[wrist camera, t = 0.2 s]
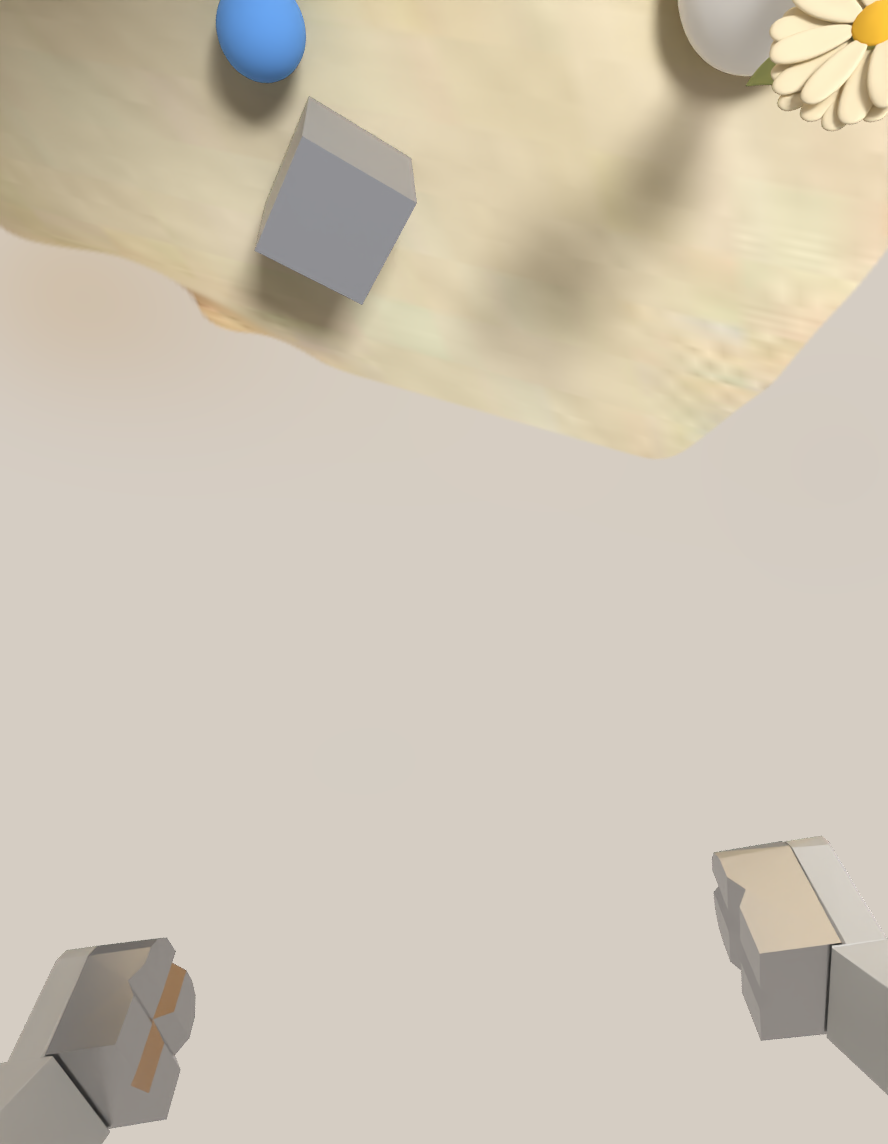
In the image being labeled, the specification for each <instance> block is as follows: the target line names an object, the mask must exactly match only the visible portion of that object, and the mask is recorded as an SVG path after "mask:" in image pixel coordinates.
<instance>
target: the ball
mask: <svg viewBox="0 0 888 1144" xmlns="http://www.w3.org/2000/svg"><path fill="white" fill-rule="evenodd" d="M216 30H217V36H218V40H219V43H220V46H221V48H222V51H223V53H224V55H225V56H226V58H227V60H228V61H229V62H230V64H231V65H232V66H233V67H234V68H235V69H236V70H237V71H238V72H239V73H240V74H242V75H243V76H245V77H247V78H249V79H251V80H253V81H256V82H261V83H273V82H277V81H280V80H282V79H284V78H286V77H288V76H289V75H290V74H291V73H292V72H293V71H294V70H295V69H296V67H297V66H298V64H299V63H300V61H301V58H302V56H303V53H304V49H305V42H306V32H305V24H304V20H303V16H302V13H301V11H300V9H299V7H298V5H297V3H296V1H295V0H220V2H219V5H218V9H217V14H216Z"/></svg>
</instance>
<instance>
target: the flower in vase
mask: <svg viewBox="0 0 888 1144" xmlns="http://www.w3.org/2000/svg"><path fill="white" fill-rule="evenodd" d="M678 8H679V14H680V19H681V22H682V25H683V28H684V32H685V34H686V36H687V38H688V40H689V42H690V44H691V45H692V47H693V48H694V50H695V51H696V52H697V54H698V55H699V56H700V57H701V58H702V59H703V60H704V61H705V62H707V63H708V64H710V65H711V66H712V67H714V68H716V69H718V70H720V71H722V72H725V73H728V74H732V75H738V76H752V77H751V78H750V80H749V81H748V83H747V84H746V86H755V85H772V89H773V91H774V92H775V93H777V94H779V95H781V96H780V97H779V99H778V102H777V104H778V107H779V108H780V109H781V110H784V111H792V110H796V109H798V108H800V107H802V108H801V110H800V117H801V118H802V119H803V120H805V121H808V122H813V121H817V120H819V119H821V118H822V120H821V125H822V127H823V129H825V130H827V131H837V130H839V129H841V128H843V127H844V126H845V125H846V124H848V125H850V124H856V123H858V122H860V121H861V120H864V121H866V122H875V121H879V120H881V119H883V118H884V117H885V116H886V115H887V113H888V0H678Z"/></svg>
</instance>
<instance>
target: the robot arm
mask: <svg viewBox="0 0 888 1144" xmlns="http://www.w3.org/2000/svg"><path fill="white" fill-rule="evenodd" d="M712 869H713V873H714V875H715V878H716V880H717V883H718V888H717V889H716V890H715V891H714V900H715V910H716V915H717V920H718V925H719V929H720V933H721V936H722V939H723V942H724V945H725V948H726V951H727V953H728V956H729V959H730V961H731V962H732V963H733V964H734V965H735V966H737V967H738V968H739V969H740V970H741V974H742V993H743V996H744V998H745V1001H746V1003H747V1006H748V1009H749V1011H750V1014H751V1016H752V1019H753V1022H754V1024H755V1026H756V1029H757V1032H758V1034H759V1037H760V1039H761V1040H771V1039H782V1038H791V1037H801V1036H810V1035H820V1034H827V1038H828V1039H829V1040H830V1041H831V1042H832V1043H833V1044H834V1045H835V1046H836V1047H837V1048H838V1049H839V1050H840V1051H842V1052H843V1053H844V1054H845V1055H846V1056H847V1057H848V1058H849V1059H850V1060H851V1061H852V1062H853V1063H854V1064H855V1065H857V1066H858V1067H859V1068H860V1069H861V1070H862V1071H863V1072H864V1073H865V1074H866V1075H867V1076H868V1077H870V1079H871V1080H873V1081H874V1082H875V1083H876V1084H877V1085H878V1086H879V1087H880V1088H881V1089H882V1090H883V1091H884V1092H886V1093H887V1095H888V938H886V936H885V935H884V933H883V931H882V929H881V928H880V926H879V924H878V923H877V921H876V919H875V918H874V916H873V914H872V913H871V911H870V910H869V908H868V907H867V904H866V903H865V901H864V900H863V898H862V896H861V895H860V893H859V891H858V890H857V888H856V886H855V885H854V883H853V881H852V880H851V878H850V876H849V875H848V873H847V871H846V870H845V868H844V866H843V865H842V863H841V861H840V860H839V858H838V856H837V855H836V853H835V852H834V850H833V848H832V846H831V845H830V843H829V841H827V840H826V839H825V838H823V837H822V836H818V837H811V838H804V839H798V840H791V841H786V842H782V841H779V842H773V843H768V844H761V845H755V846H749V847H743V848H737V849H732V850H726V851H719V852H714V853H713V857H712ZM175 952H176V951H175V950H174V948H173V947H172V945H171V943H170V942H169V940H168V939H167V938H158V939H150V940H141V941H133V942H125V943H117V944H109V945H101V946H93V947H87V948H79V949H72V950H66V951H65V952H64V953H63V954H62V955H61V956H60V957H59V958H58V959H57V961H56V962H55V964H54V966H53V968H52V970H51V972H50V974H49V977H48V979H47V981H46V983H45V985H44V987H43V989H42V991H41V993H40V995H39V997H38V999H37V1002H36V1004H35V1006H34V1008H33V1010H32V1012H31V1014H30V1016H29V1018H28V1020H27V1022H26V1024H25V1026H24V1029H23V1031H22V1033H21V1035H20V1037H19V1039H18V1041H17V1043H16V1045H15V1047H14V1049H13V1052H12V1054H11V1056H10V1058H9V1060H8V1062H4V1063H0V1144H102V1143H103V1141H104V1140H105V1139H106V1137H107V1136H108V1134H109V1133H110V1131H109V1129H110V1128H116V1127H122V1126H128V1125H134V1124H140V1123H146V1122H153V1121H159V1120H164V1119H167V1115H168V1112H169V1108H170V1105H171V1101H172V1098H173V1094H174V1091H175V1087H176V1084H177V1080H178V1077H179V1073H180V1067H179V1065H178V1063H177V1060H176V1057H175V1054H176V1053H177V1052H178V1051H179V1049H180V1048H181V1047H182V1046H183V1045H184V1043H185V1042H186V1041H187V1040H188V1039H189V1037H190V1033H191V1030H192V1026H193V1022H194V1018H195V992H194V987H193V983H192V980H191V978H190V976H189V974H188V973H187V971H186V970H185V969H183V968H181V967H179V966H177V965H176V964H174V963H172V961H173V958H174V955H175Z"/></svg>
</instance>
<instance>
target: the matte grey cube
mask: <svg viewBox="0 0 888 1144" xmlns="http://www.w3.org/2000/svg"><path fill="white" fill-rule="evenodd" d="M416 203H417V201H416V193H415V185H414V177H413V169H412V160H411V158H410V157H408V156H407V155H405V154H403V153H402V152H400V151H398V150H397V149H395V148H393V147H392V146H390V145H389V144H387V143H385V142H384V141H382V140H380V139H379V138H377V137H375V136H374V135H372V134H370V133H369V132H367V131H366V130H364V129H362V128H361V127H359V126H357V125H356V124H354V123H352V122H351V121H349V120H348V119H346V118H344V117H343V116H341V115H339V114H338V113H336V112H334V111H333V110H331V109H329V108H328V107H326V106H325V105H323V104H321V103H320V102H318V101H316V100H315V99H313V98H311V97H310V96H309V98H308V100H307V103H306V105H305V107H304V110H303V112H302V115H301V117H300V120H299V122H298V125H297V127H296V130H295V132H294V134H293V137H292V139H291V142H290V144H289V147H288V149H287V152H286V154H285V157H284V159H283V161H282V164H281V166H280V169H279V171H278V174H277V176H276V179H275V181H274V184H273V186H272V188H271V191H270V193H269V196H268V198H267V201H266V204H265V208H264V212H263V217H262V221H261V225H260V230H259V234H258V238H257V243H256V247H255V251H256V252H258V253H260V254H262V255H264V256H266V257H268V258H270V259H272V260H274V261H276V262H278V263H280V264H282V265H284V266H286V267H288V268H290V269H292V270H294V271H296V272H298V273H300V274H302V275H304V276H306V277H308V278H310V279H312V280H314V281H316V282H318V283H320V284H322V285H324V286H326V287H328V288H330V289H332V290H334V291H336V292H338V293H340V294H342V295H344V296H346V297H348V298H350V299H352V300H354V301H356V302H357V303H359V304H361V305H362V304H363V302H364V300H365V298H366V296H367V295H368V293H369V291H370V289H371V287H372V285H373V283H374V282H375V280H376V278H377V276H378V274H379V272H380V270H381V269H382V267H383V265H384V263H385V261H386V259H387V257H388V256H389V254H390V252H391V250H392V248H393V246H394V244H395V243H396V241H397V239H398V237H399V235H400V233H401V231H402V229H403V228H404V226H405V224H406V222H407V220H408V218H409V216H410V215H411V213H412V211H413V209H414V207H415V205H416Z"/></svg>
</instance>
